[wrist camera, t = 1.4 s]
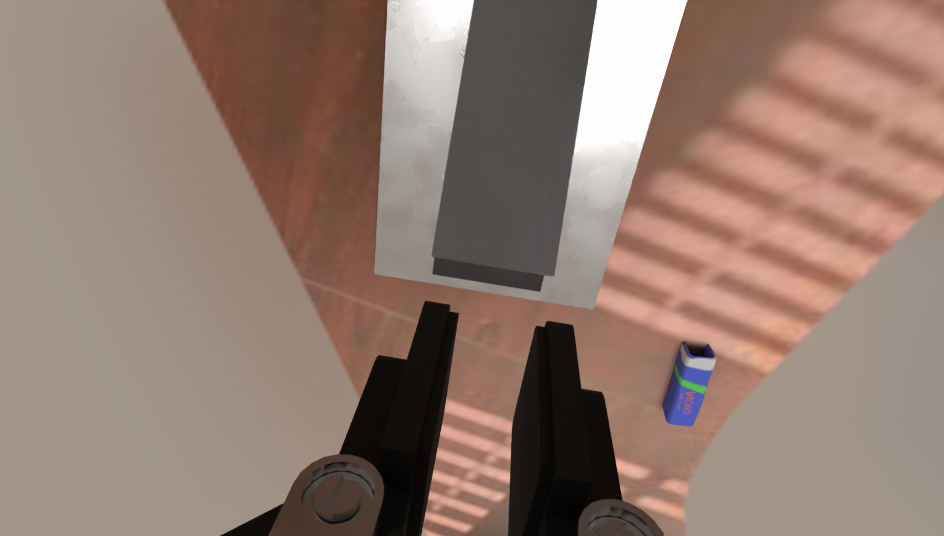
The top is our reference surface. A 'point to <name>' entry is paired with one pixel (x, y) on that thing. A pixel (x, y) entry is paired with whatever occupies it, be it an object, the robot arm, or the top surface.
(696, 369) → the eraser
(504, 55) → the retention lever
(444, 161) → the mounting plate
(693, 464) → the top surface
